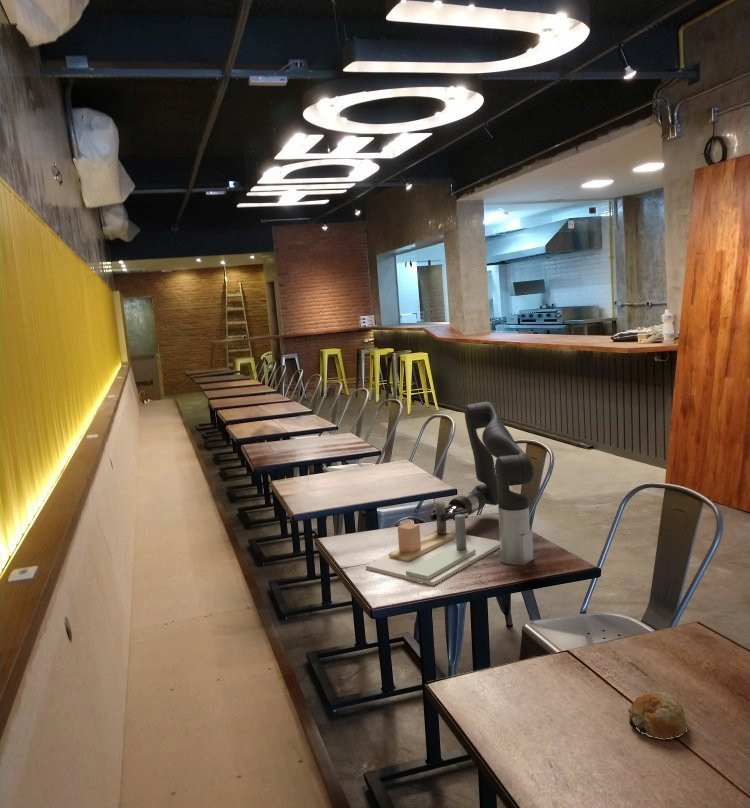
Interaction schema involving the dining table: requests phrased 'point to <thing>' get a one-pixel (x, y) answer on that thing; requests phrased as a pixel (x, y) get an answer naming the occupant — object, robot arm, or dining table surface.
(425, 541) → the oak strip
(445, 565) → the sage strip
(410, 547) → the terracotta block
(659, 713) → the bread roll
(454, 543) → the lane board
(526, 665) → the dining table surface
